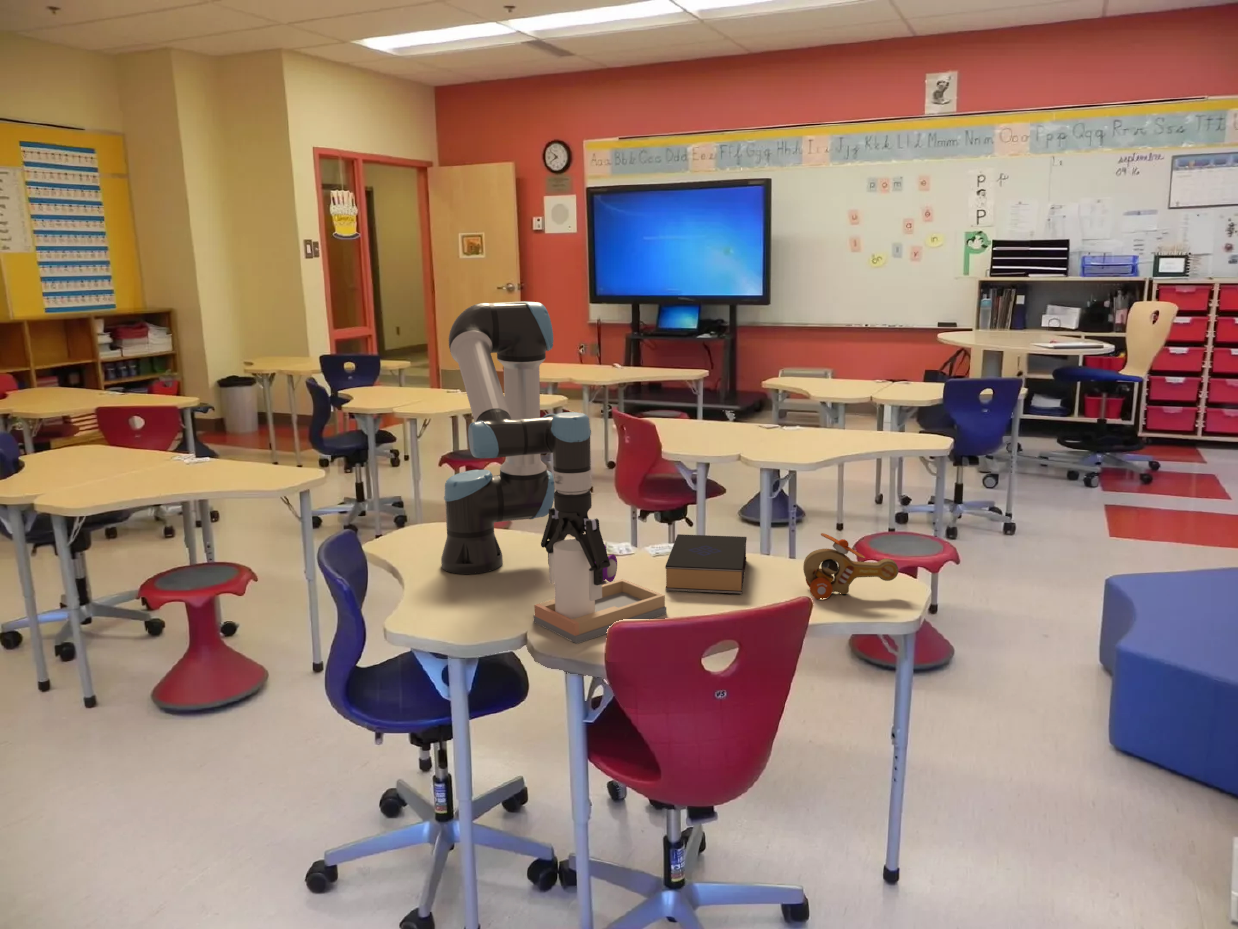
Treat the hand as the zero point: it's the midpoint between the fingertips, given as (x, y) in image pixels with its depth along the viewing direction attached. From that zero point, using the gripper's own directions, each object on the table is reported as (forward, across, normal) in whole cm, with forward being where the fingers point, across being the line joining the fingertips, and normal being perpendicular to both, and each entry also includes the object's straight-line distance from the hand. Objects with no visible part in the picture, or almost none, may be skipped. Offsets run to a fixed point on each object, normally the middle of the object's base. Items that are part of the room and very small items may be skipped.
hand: (575, 590), depth 192 cm
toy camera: (+8, -18, +18) cm, 26 cm away
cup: (+6, 0, 0) cm, 6 cm away
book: (+8, -4, +42) cm, 43 cm away
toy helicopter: (+8, +26, +56) cm, 62 cm away
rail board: (+8, 0, +6) cm, 10 cm away
